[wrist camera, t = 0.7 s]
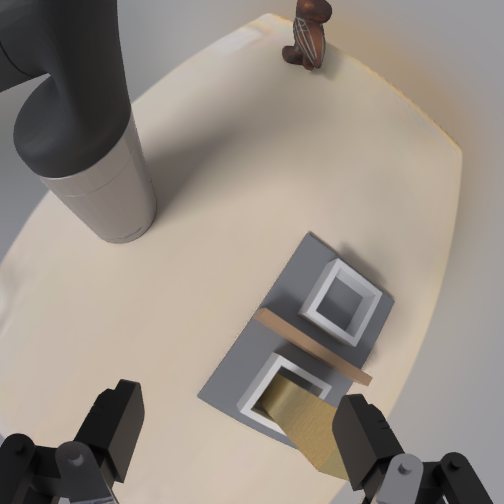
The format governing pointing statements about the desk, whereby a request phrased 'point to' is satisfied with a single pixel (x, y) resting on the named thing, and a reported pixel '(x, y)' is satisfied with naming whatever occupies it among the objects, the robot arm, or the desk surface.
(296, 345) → the plate
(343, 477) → the post
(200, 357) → the desk surface
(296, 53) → the figurine
